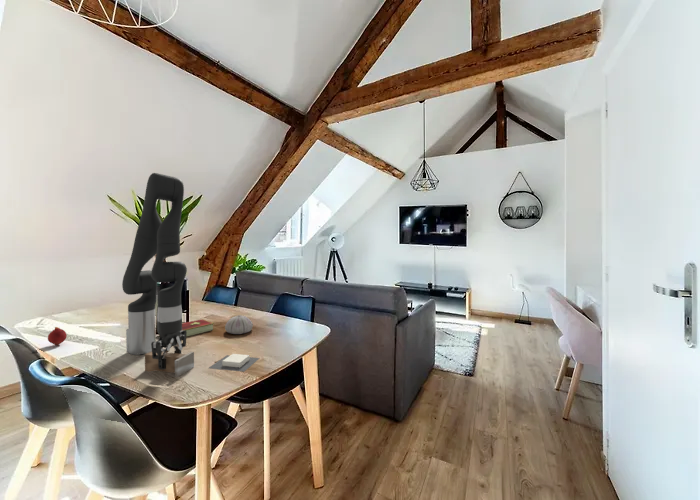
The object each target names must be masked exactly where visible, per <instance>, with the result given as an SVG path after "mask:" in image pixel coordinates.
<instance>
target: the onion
mask: <svg viewBox="0 0 700 500" xmlns="http://www.w3.org/2000/svg"><path fill="white" fill-rule="evenodd" d="M67 335H68V334H67V332H66V330H64V329H62V328H60V327H58V326H55V327H54V329H53V330H51V331H50V333H48V335H47V341H48V342H49V343H50V344H52V345H54V346H59V345H61V344H62V343H63V342H65V341H66V339H67Z"/></svg>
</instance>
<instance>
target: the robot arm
mask: <svg viewBox="0 0 700 500" xmlns="http://www.w3.org/2000/svg"><path fill="white" fill-rule="evenodd" d="M184 195H185V187H184V182H183V180H182V179H181V178H179V177H176V176H171V175H166V174H162V173H157V172H152V173H151V174H150V175H149V177H148V179H147V183H146V189H145V194H144V201H143V206H142V212H141V215H140V220H139V223H138V226H137V230H136V232H135V238H134V241H133V247H132V250H131V255H130V258H129V261H128V264H127V266H126V269H125V272H124V274H123V278H122V285H121V287H122V290H123V293H124V294H126V295H130V296H131V295H134V296H135V295H140V294H142V295H141V296H140V297H138V298H137V299H135V300H134V301H132V302H130V303H129V304H128V305H127V314H128V315H127V319H128V327H127V328H126V331H125V332H126V333H125V337H126V339H125V340H126V341H125V344H126V353H127V354H129V355H133V356H139V355H145V354H147V353H149V352H151V351H152V358H153V359H158V367H159V369H162V370H164V369H166V355H167V353H170V349H171V348H172V347H173V349H174V351H173V353H177V354H182V350H183V348H185V347H187V336H186V335H187V331H185V330H182V323H183V309H182V291H183V285H184V281H185V279H186V275H187V270H188V268H187V266H186V264H185V263H184V262H182V261H165V259H167V258H170V257H175V256H178V255H180V253H181V240H180V239H181V236H180V235H181V234H180V228H181V219H182V212H183V204H184ZM158 200H159V201H167V202H171V208H170V211H169V212H168V214H167V215H166V216H165V218H164V219H163V220H161V217H160V216H159V213H158V210H157V201H158ZM154 257H155V259H154V263H153V265H152V268H151V270H150V269H149V270H143V268H144V266H145V265H146V264H147V263H148V262H149V261H150V260H151V259H153V258H154ZM170 282H171V283H172V282H173V283H174V284H173V285H172V286H169V287H166V288H162V289H160V290H158V283H170ZM157 290H158V291H157ZM157 292H158V293H157ZM156 303H157V310H156ZM156 311H157V312H156ZM156 318H157V319H156ZM156 323H157V324H156ZM156 326H157V327H156ZM156 330H157V333H158V335H160V336H159V338H158V340H157V337H156ZM162 352H164V353H163V355H161V354H162ZM156 353H157V355H156Z"/></svg>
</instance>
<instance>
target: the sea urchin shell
mask: <svg viewBox="0 0 700 500" xmlns="http://www.w3.org/2000/svg"><path fill="white" fill-rule="evenodd" d="M253 324H254V323H253V322H252V320H251V319H250V318H249V317H247V316H246V315H242V314H241V315H235V316H233V317H231V318H229V320H227V322H226V323H225V326H224V329H225V332H227V334H233V335H242V334H246V333H249V332H251V330H252V329H253V327H254V325H253Z"/></svg>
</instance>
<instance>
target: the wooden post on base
mask: <svg viewBox="0 0 700 500" xmlns="http://www.w3.org/2000/svg"><path fill="white" fill-rule="evenodd" d="M163 353H164V352H162V354H161V355H163ZM156 355H157V353H156ZM193 368H195V351H190V352H187V353H186V354H185V353H181V354H177V353H174V352H167V355H166V369H164V370H162V369H159V367H158V359H153V358H152V351H151V352H149V353H145V354H144V371H145V372H151V371H153V372H155V371H157V372H165V373H174V377H175V378H176V377H177V378H179V377H180V376H181V375H183V374H186V372H188V371H190V370H191V369H193Z"/></svg>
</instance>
